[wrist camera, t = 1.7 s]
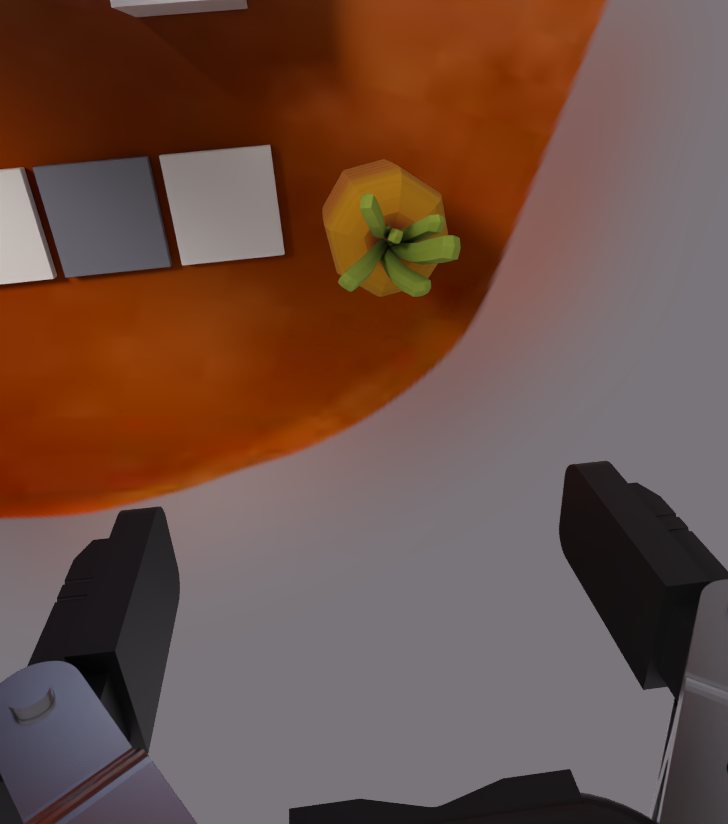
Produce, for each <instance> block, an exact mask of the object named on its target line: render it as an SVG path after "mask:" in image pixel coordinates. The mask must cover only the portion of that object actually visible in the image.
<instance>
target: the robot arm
mask: <svg viewBox="0 0 728 824" xmlns="http://www.w3.org/2000/svg"><path fill="white" fill-rule="evenodd" d="M559 535H560V542H561V547H562V550H563V553H564V555H565V557H566V559H567V561H568V563H569V564H570V566H571V568H572V569H573V571H574V573H575V574H576V576H577V578H578V580H579V581H580V583H581V585H582V586H583V588H584V590H585V591H586V593H587V595H588V597H589V598H590V600H591V602H592V603H593V605H594V607H595V608H596V610H597V612H598V614H599V615H600V617H601V619H602V620H603V622H604V624H605V625H606V627H607V629H608V630H609V632H610V634H611V636H612V637H613V639H614V641H615V642H616V644H617V646H618V648H619V649H620V651H621V653H622V654H623V656H624V658H625V660H626V661H627V663H628V664H629V666H630V668H631V670H632V671H633V673H634V675H635V677H636V678H637V680H638V682H639V683H640V685H641V687H642V688H643V690H645V689H652V688H661V687H668V688H669V689H670V691H671V693H672V694H673V696H674V701H673V705H672V709H671V713H670V718H669V723H668V728H667V733H666V738H665V743H664V748H663V752H662V757H661V762H660V767H659V772H658V777H657V782H656V787H655V792H654V797H653V801H652V806H651V810H650V814H649V817H647V816H645V815H643V814H642V813H640V812H638V811H636V810H633V809H632V808H630V807H628V806H625V805H623V804H620V803H618V802H615V801H612V800H610V799H607V798H603V797H599V796H595V795H591V794H585V793H580V792H579V789H578V787H577V785H576V782H575V780H574V777H573V775H572V772H571V770H570V769H567V770H560V771H553V772H546V773H539V774H532V775H525V776H518V777H511V778H504V779H501V780H499V781H496V782H494V783H492V784H489V785H487V786H485V787H483V788H481V789H478V790H476V791H474V792H471V793H469V794H467V795H465V796H462V797H460V798H458V799H456V800H453V801H451V802H449V803H447V804H444V805H441V806H438V807H423V806H414V805H407V804H399V803H390V802H382V801H374V800H365V799H355V800H349V801H341V802H334V803H327V804H319V805H312V806H305V807H298V808H291V809H289V824H728V571H727V570H726V569H725V568H724V567H723V566H722V564H721V563H720V562H719V561H718V560H717V559H716V558H715V557H714V555H712V553H711V552H710V551H709V550H708V549H707V548H706V547H705V546H704V544H703V543H702V542H701V541H700V540H699V539H698V538H697V537H696V535H695V534H694V533H693V532H692V531H689V530H688V527H687V525H686V524H685V523H684V522H683V521H682V520H681V519H680V518H679V517H676V513H675V512H674V511H673V510H672V509H671V508H670V507H669V505H667V503H666V502H665V501H664V500H663V499H662V498H661V497H660V496H659V495H657V494H655V493H654V492H652V491H650V490H649V489H647V488H645V487H643V486H642V485H640V484H638V483H627V482H626V481H625V479H624V478H623V477H622V476H621V475H620V473H619V472H618V471H617V470H616V469H615V468H614V467H613V465H612V464H611V463H610V462H608V461H600V462H591V463H582V464H572V465H569V466H568V467H567V469H566V473H565V479H564V488H563V497H562V506H561V515H560V523H559ZM179 594H180V582H179V572H178V566H177V562H176V558H175V554H174V550H173V545H172V541H171V537H170V533H169V529H168V524H167V520H166V516H165V513H164V511H163V509H162V508H161V507H152V508H143V509H133V510H123V511H121V512H119V514H118V516H117V519H116V522H115V524H114V527H113V529H112V532H111V535H110V537H109V538H108V539H99V540H93V541H92V542H91V543H90V544H89V545H88V546H87V547H86V548H85V549H84V550H83V551H82V552H81V553H80V554H79V555H78V556H77V557H76V558H75V559H74V560H73V563H72V565H71V567H70V569H69V572H68V575H67V576H66V579H65V585H63V586H62V588H61V590H60V592H59V595H58V597H57V602H55V604H54V606H53V609H52V611H51V613H50V616H49V618H48V620H47V622H46V625H45V627H44V629H43V631H42V634H41V636H40V638H39V641H38V643H37V645H36V648H35V650H34V652H33V654H32V657H31V659H30V661H29V664H28V666H27V667H25V668H23V669H21V670H20V671H17V672H16V673H14V674H12V675H11V676H9V677H8V678H6V679H5V680H4V681H2V682H1V683H0V824H197V823H196V821H195V820H194V818H193V817H192V815H191V814H190V813H189V811H188V810H187V808H186V807H185V806H184V804H183V803H182V801H181V800H180V799H179V797H178V796H177V794H176V793H175V792H174V790H173V789H172V787H171V786H170V785H169V783H168V782H167V780H166V779H165V778H164V776H163V775H162V773H161V772H160V771H159V769H158V768H157V766H156V765H155V764H154V762H153V761H152V759H151V758H150V757H149V755H148V752H149V747H150V742H151V737H152V732H153V727H154V722H155V717H156V712H157V707H158V702H159V697H160V692H161V687H162V682H163V677H164V672H165V667H166V662H167V657H168V652H169V647H170V642H171V637H172V633H173V628H174V622H175V617H176V613H177V608H178V603H179Z"/></svg>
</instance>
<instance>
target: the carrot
mask: <svg viewBox="0 0 728 824" xmlns="http://www.w3.org/2000/svg"><path fill="white" fill-rule="evenodd" d="M322 216H323V222H324V226H325V230H326V234H327V238H328V242H329V245H330V249H331V253H332V257H333V260H334V264H335V268H336V272H337V273H338V274H339V275H341V277H340V279H339V281H338V283H339V284H340V285H341V286H342V287H343V288H344V289H346V290H348V291H350V292H351V291H353V290H354V289H356V288H357V287H358V286H360V287H362V288H364V289H365V290H367V291H369V292H371V293H372V294H374V295H376V296H378V297H382V296H386V295H390V294H393V293H397V292H401V291H404V292H405V293H407V294H409V295H411V296H413V297H418V296H423V295H425V294H427V293H429V291H430V289H431V280H429V279H428V278H429V277H430V275H431V273H432V272H433V270H434V269H435V267H436V266H437V264H438V263H444V262H449V261H453V260H457V259H458V256H459V253H460V249H461V247H460V238H459V237H456V236H454V235H448V230H447V225H446V219H445V213H444V207H443V202H442V196H441V194H440V193H439V192H437V191H436V190H434V189H433V188H431V187H430V186H428V185H427V184H425V183H424V182H422V181H421V180H419V179H418V178H416V177H414V176H413V175H411V174H410V173H408V172H407V171H405V170H404V169H402V168H401V167H399V166H398V165H396V164H394V163H392V162H391V161H388V160H385V159H382V160H378V161H374V162H371V163H367V164H363V165H360V166H356V167H352V168H349V169H345V170H343V171H342V173H341V175H340V177H339V178H338V180H337V182H336V184H335V186H334V187H333V189H332V191H331V193H330V195H329V196H328V198H327V200H326V202H325V204H324V205H323V207H322Z"/></svg>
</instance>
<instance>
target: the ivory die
mask: <svg viewBox="0 0 728 824" xmlns="http://www.w3.org/2000/svg"><path fill="white" fill-rule="evenodd" d="M110 3H111V7H112V8H114V9H117V10H119V11H122V12H125V13H127V14H130V15H132V16H135V17H148V16H161V15H173V14H186V13H199V12H212V11H225V10H237V9H248V7H247V0H110Z"/></svg>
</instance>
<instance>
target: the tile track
mask: <svg viewBox="0 0 728 824" xmlns="http://www.w3.org/2000/svg"><path fill="white" fill-rule="evenodd" d="M159 158H160V163H161V168H162V173H163V177H164V182H165V187H166V192H167V196H168V201H169V206H170V211H171V215H172V220H173V225H174V230H175V234H176V239H177V244H178V248H179V253H180V258H181V263H182V265H192V264H201V263H211V262H221V261H230V260H240V259H250V258H259V257H269V256H278V255H285V251H284V244H283V236H282V229H281V222H280V214H279V207H278V199H277V192H276V184H275V177H274V169H273V162H272V154H271V147H270V145H260V146H249V147H238V148H228V149H217V150H206V151H195V152H184V153H173V154H163V155H160V156H159ZM33 171H34V174H35V178H36V181H37V184H38V188H39V191H40V194H41V198H42V201H43V204H44V208H45V211H46V214H47V218H48V221H49V224H50V228H51V231H52V234H53V238H54V241H55V244H56V248H57V251H58V254H59V258H60V261H61V264H62V268H63V271H64V274H65V278H67V277H76V276H86V275H96V274H105V273H115V272H124V271H134V270H144V269H153V268H163V267H171V265H172V260H171V256H170V251H169V247H168V242H167V237H166V233H165V228H164V224H163V219H162V215H161V210H160V205H159V201H158V196H157V192H156V187H155V182H154V178H153V173H152V169H151V164H150V159H149V156H141V157H130V158H119V159H109V160H98V161H87V162H76V163H65V164H54V165H44V166H36V167H33ZM56 276H57V273H56V270H55V267H54V263H53V260H52V257H51V254H50V250H49V247H48V244H47V241H46V237H45V234H44V231H43V228H42V224H41V221H40V218H39V214H38V211H37V208H36V205H35V201H34V198H33V195H32V192H31V188H30V185H29V182H28V179H27V175H26V172H25V169H24V167H22V168H11V169H0V284H9V283H19V282H28V281H38V280H48V279H54V278H55V277H56Z"/></svg>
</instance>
